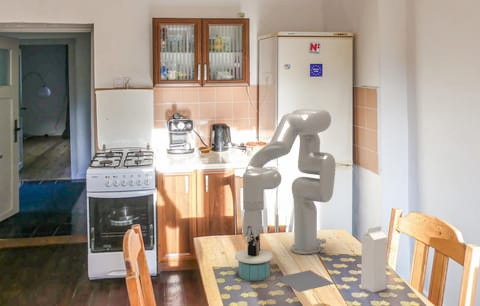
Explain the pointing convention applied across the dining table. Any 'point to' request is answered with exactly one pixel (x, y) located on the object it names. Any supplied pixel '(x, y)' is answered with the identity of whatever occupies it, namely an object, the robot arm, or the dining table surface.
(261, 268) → the bowl
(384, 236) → the milk
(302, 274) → the mat
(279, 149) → the robot arm
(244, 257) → the lid
